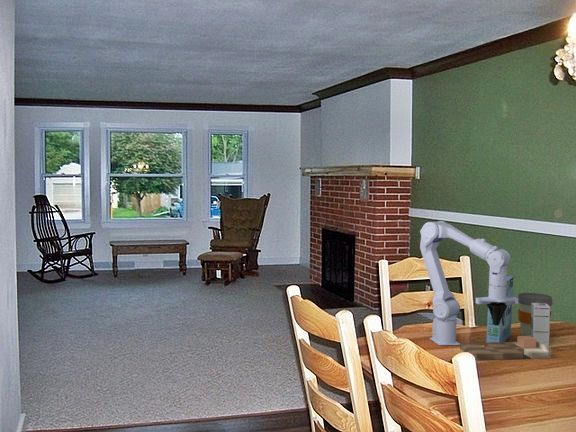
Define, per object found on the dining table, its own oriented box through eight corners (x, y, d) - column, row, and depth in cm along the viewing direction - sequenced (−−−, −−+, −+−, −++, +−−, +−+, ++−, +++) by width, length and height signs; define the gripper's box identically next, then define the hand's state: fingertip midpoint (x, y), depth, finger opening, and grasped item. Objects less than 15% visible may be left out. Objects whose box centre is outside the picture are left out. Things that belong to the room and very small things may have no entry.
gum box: (498, 334, 243) (500, 275, 241) (511, 336, 240) (514, 276, 239) (485, 345, 226) (487, 282, 225) (500, 348, 224) (502, 283, 222)
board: (459, 348, 222) (460, 338, 221) (529, 347, 225) (529, 337, 225) (477, 360, 208) (477, 349, 208) (551, 358, 211) (551, 348, 211)
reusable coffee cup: (550, 332, 248) (551, 294, 247) (552, 340, 236) (553, 300, 235) (515, 329, 252) (517, 291, 251) (516, 336, 240) (517, 297, 239)
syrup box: (549, 346, 227) (551, 306, 226) (532, 345, 228) (533, 305, 227) (546, 342, 232) (547, 303, 231) (529, 341, 233) (530, 302, 233)
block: (517, 344, 221) (517, 335, 221) (529, 344, 222) (529, 335, 221) (523, 347, 216) (524, 339, 216) (536, 347, 217) (536, 339, 217)
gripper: (482, 287, 211) (481, 327, 212) (523, 287, 213) (521, 327, 214) (473, 283, 218) (472, 322, 219) (513, 283, 220) (511, 322, 221)
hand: (496, 324), depth 217 cm, fingers closed
